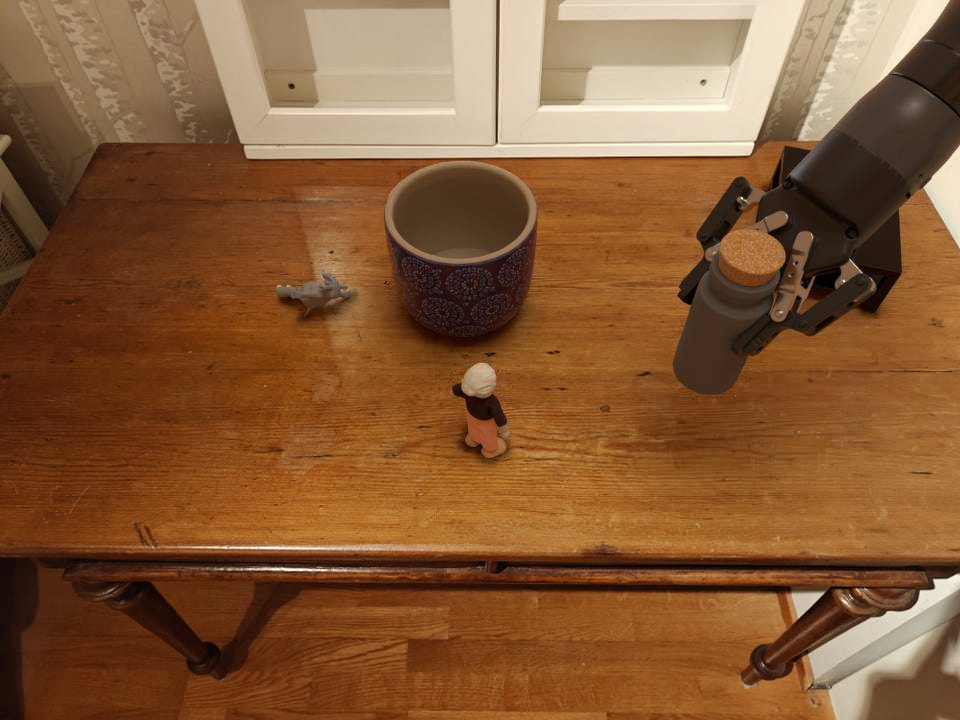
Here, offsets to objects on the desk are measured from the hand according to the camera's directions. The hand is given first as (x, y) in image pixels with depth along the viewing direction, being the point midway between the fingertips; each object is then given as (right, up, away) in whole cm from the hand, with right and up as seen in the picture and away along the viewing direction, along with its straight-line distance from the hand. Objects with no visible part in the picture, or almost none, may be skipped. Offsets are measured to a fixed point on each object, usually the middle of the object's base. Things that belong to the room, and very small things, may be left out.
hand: (710, 326), depth 57 cm
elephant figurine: (-39, +3, +28) cm, 48 cm away
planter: (-21, +4, +29) cm, 36 cm away
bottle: (+2, -4, +7) cm, 8 cm away
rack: (+25, +12, +34) cm, 44 cm away
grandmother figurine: (-19, -11, +17) cm, 28 cm away
